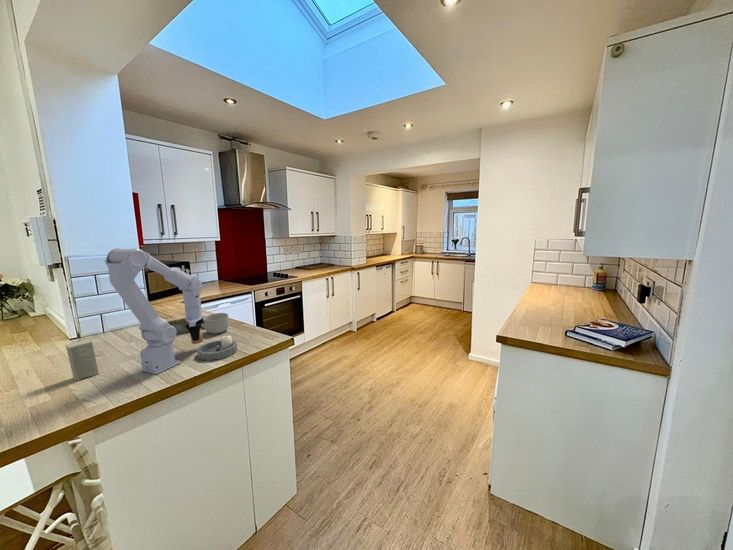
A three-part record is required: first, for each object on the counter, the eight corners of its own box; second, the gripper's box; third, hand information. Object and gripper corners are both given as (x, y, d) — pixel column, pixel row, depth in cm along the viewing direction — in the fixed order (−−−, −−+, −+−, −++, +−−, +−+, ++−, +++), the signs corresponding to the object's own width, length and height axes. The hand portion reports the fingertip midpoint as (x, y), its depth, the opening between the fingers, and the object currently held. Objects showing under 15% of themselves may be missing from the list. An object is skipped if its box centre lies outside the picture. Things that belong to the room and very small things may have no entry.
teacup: (234, 328, 146) (232, 312, 145) (221, 336, 135) (219, 319, 134) (208, 327, 147) (206, 312, 146) (193, 335, 137) (191, 319, 136)
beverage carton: (158, 335, 140) (156, 321, 139) (202, 325, 152) (201, 313, 151) (160, 339, 134) (158, 325, 133) (206, 329, 146) (205, 316, 145)
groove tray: (217, 362, 108) (216, 355, 108) (189, 357, 113) (189, 350, 113) (245, 348, 121) (244, 341, 121) (219, 344, 126) (218, 337, 126)
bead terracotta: (196, 344, 118) (195, 332, 117) (189, 343, 119) (187, 331, 118) (204, 340, 121) (203, 329, 121) (197, 339, 123) (196, 328, 122)
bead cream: (227, 351, 116) (226, 339, 115) (219, 350, 117) (218, 338, 116) (235, 347, 119) (233, 336, 119) (227, 346, 121) (226, 335, 120)
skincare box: (96, 370, 104) (90, 338, 102) (99, 374, 102) (92, 341, 100) (72, 378, 100) (65, 344, 98) (74, 382, 97) (66, 347, 95)
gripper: (202, 309, 113) (206, 342, 115) (205, 301, 126) (209, 331, 128) (181, 311, 110) (185, 345, 112) (186, 303, 123) (190, 334, 125)
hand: (196, 338), depth 120 cm, fingers closed on bead terracotta, 4 cm apart
